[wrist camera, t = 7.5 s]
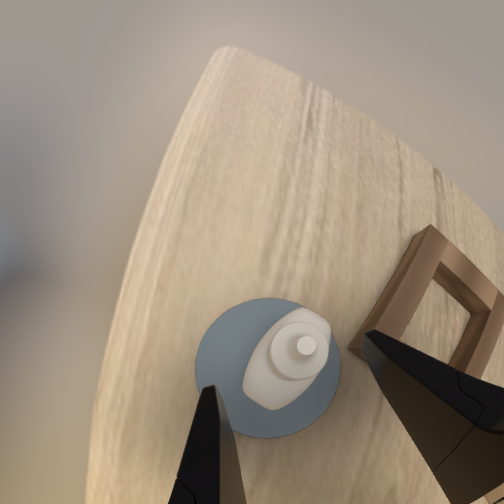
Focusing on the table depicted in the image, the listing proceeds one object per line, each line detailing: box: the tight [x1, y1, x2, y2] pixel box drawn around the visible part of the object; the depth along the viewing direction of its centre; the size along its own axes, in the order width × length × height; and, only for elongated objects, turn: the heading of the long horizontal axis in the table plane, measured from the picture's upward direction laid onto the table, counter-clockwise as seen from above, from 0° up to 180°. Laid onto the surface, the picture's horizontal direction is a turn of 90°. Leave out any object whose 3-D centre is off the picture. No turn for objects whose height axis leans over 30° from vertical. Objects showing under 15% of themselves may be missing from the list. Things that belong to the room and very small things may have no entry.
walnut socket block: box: [348, 224, 504, 379], centre depth 21 cm, size 12×12×3 cm
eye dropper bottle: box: [242, 308, 331, 410], centre depth 16 cm, size 4×6×12 cm
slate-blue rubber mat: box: [195, 298, 340, 438], centre depth 22 cm, size 11×11×1 cm
